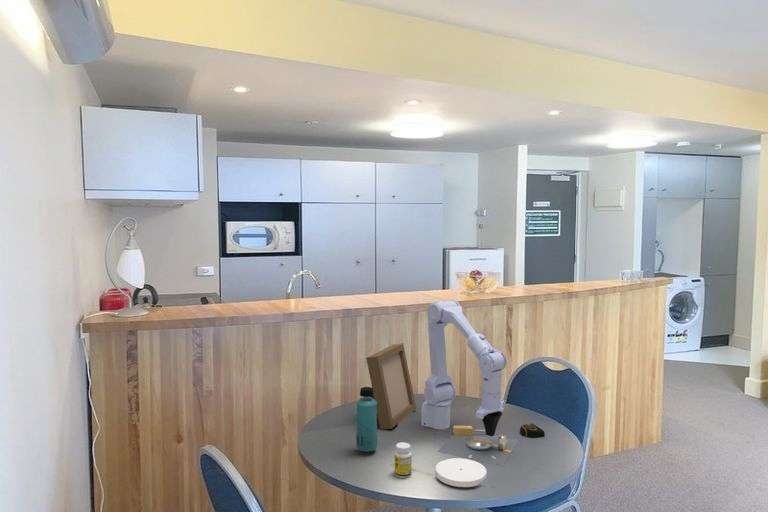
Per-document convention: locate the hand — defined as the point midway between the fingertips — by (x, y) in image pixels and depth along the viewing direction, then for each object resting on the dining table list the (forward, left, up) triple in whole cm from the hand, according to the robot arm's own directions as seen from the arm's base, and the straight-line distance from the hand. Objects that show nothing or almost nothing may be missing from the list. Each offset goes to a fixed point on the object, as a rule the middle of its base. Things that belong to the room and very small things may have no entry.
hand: (490, 435), depth 164 cm
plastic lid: (-3, -19, -6) cm, 20 cm away
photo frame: (-42, +12, -6) cm, 44 cm away
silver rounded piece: (-1, +1, -4) cm, 4 cm away
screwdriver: (-8, +8, -4) cm, 13 cm away
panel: (-4, +1, -6) cm, 7 cm away
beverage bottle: (-34, -17, -6) cm, 38 cm away
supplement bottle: (-18, -25, -6) cm, 31 cm away
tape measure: (+9, +19, -6) cm, 21 cm away
